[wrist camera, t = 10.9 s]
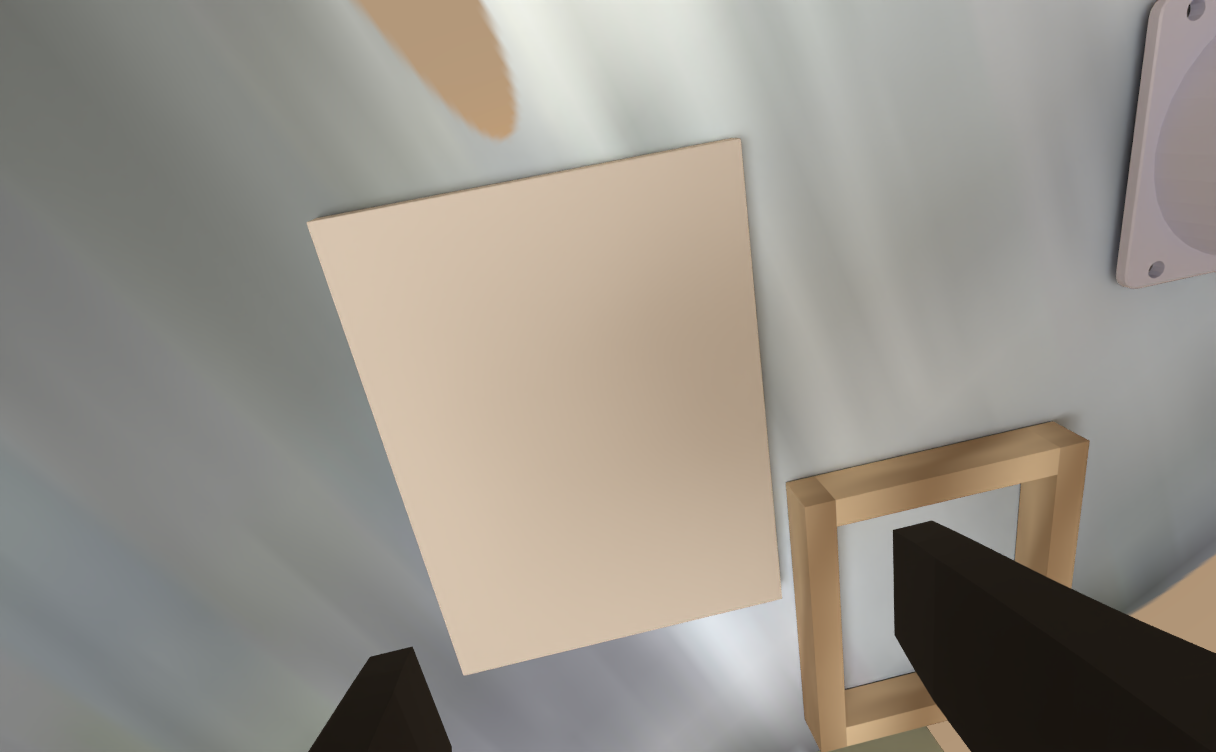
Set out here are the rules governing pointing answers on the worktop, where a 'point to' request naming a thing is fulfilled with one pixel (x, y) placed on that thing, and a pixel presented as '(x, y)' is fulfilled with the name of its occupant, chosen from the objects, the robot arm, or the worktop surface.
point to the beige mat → (569, 396)
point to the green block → (898, 743)
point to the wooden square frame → (827, 501)
